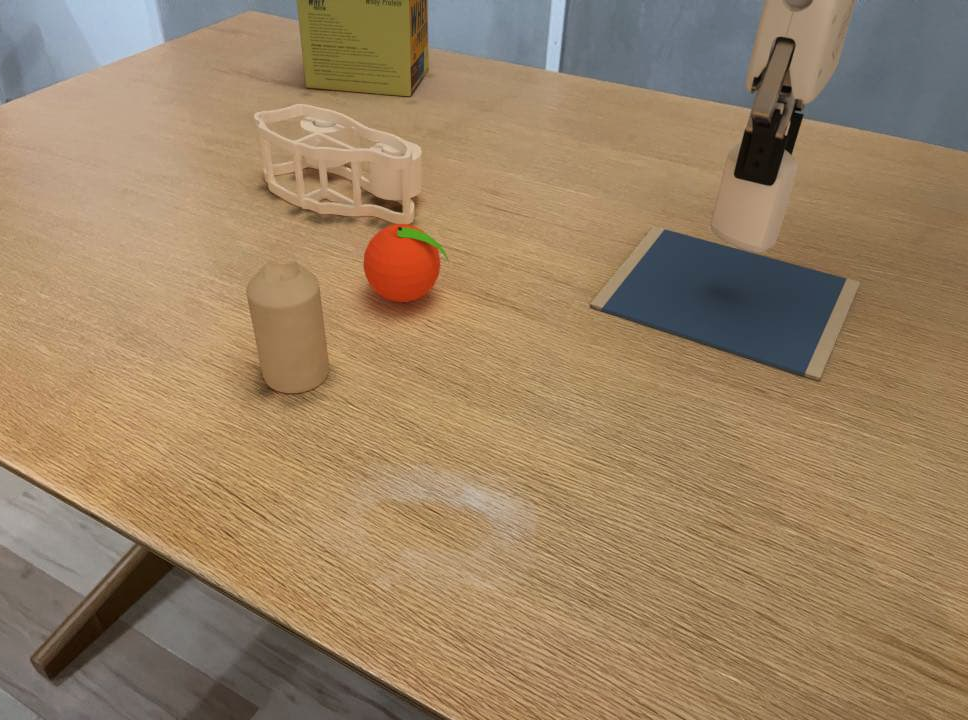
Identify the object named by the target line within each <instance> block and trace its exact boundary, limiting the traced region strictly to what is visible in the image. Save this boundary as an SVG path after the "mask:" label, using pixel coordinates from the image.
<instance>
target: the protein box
mask: <svg viewBox="0 0 968 720" xmlns="http://www.w3.org/2000/svg"><path fill="white" fill-rule="evenodd" d="M428 2H429V1H428V0H296V8H297V17H298V24H299V35H300V45H301V55H302V64H303V74H304V85H305V88H308V89H319V90H330V91H331V90H332V91H341V92H343V91H344V92H353V93H354V92H355V93H364V94H365V93H367V94H375V95H378V94H379V95H388V96H399V97H400V96H402V97H412V96H413V94H414V92H415V90H416V89H417V88H418V86H420V83H421V82H422V80H423V79H424V77H425V76H426V74H427V72H428V71H429V70H430V58H429V57H430V56H429V11H428V10H429V7H428V6H429V5H428V4H429V3H428Z"/></svg>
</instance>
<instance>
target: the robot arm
mask: <svg viewBox="0 0 968 720" xmlns="http://www.w3.org/2000/svg"><path fill="white" fill-rule="evenodd" d="M856 2H857V0H764V4H763V7H762V11H761V15H760V19H759V23H758V26H757V31H756V34H755V37H754V38H755V39H754V44H753V47H752V51H751V55H750V59H749V64H748V69H747V72H746V73H747V74H746V79H745V87H746V89H747V91H748V92H749V93H750V94H752V95H753V94H755V95H754V98H753V102H752V105H751V110H750V113H749V116H748V120H747V123H746V127H745V128H744V131H743V136H742V139H741V142H740V143H741V146H740V150H739V154H738V158H737V162H736V166H735V170H734V176H735V178H737V179H741V180H745V181H750V182H754V183H758V184H762V185H767V186H772V185H773V184H774V183H775V181H776V179H777V175H778V172H779V168H780V165H781V162H782V158H783V155H784V151H785V150H786V151H788V152H789V153H790V154H791V155H792V156H793V153H794V149H795V145H796V143H797V138H798V136H799V132H800V128H801V126H802V123H803V118H804V116H805V114H804V113H802V112H803V111H804V109H805V106H806V105H807V104H810V103H812V102H813V101H814V100H816V99H817V97H818V96H819V95H820V93H821V92H822V91H823V89H824V88H825V86H826V85H827V84H828V82H829V81H830V79H831V78H832V76H833V75H834V73H835V71H836V69H837V67H838V66H839V62H840V59H841V56H842V51H843V48H844V45H845V41H846V38H847V33H848V31H849V26H850V24H851V23H850V22H851V20H852V16H853V12H854V9H855V5H856ZM777 103H782V104H784V108H783V112H782V114H781V110H780V109H776V107H777ZM789 121H790V126H789V129H788V133H787V135H785V133H786V130H787V127H788V124H789Z"/></svg>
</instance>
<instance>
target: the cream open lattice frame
mask: <svg viewBox="0 0 968 720" xmlns="http://www.w3.org/2000/svg"><path fill="white" fill-rule="evenodd" d="M300 116H305V117H303V118H302V119H301V120H300V122H299V126H300V136H301V137H300V138H298V139H295V140H292V139H290V138H287V137H285V136H282V135H281V134H278V133H277V132H275V131H272V130H271V129H269V128H268V126H267V124H270V123H277V122H283V121H287V120H291V119H294V118H296V117H300ZM253 118H254V125H255V129H256V133H257V138H258V144H259V145H258V146H259V149H260V150H259V151H260V158H261V162H262V170H263V177H264V182H265V183H267V186H268V190H269V192H271V193H273V194H274V195H275V196H277V197H279V198H281V199H282V200H284V201H286V202H287V203H290V204H292V205H294V206H296V207H299V208H301V209H302V210H310V211H312V212H314V213H317V214H319V215H335V216H336V215H337V216H343V217H354V218H355V217H356V218H357V217H375V218H379V219H381V220H383V221H386V222H388V223H391V224H393V225H395V224H408V225H411V224H412V223H413V222H414V219H415V214H416V213H415V203H414V200H412V199H411V198H414V197H416V196H417V195H419V194H421V192H422V190H423V155H422V154H423V151H422V148H421V147H420V145H418V144H416V143H415V142H411V141H408V140H405V139H403V138H402V137H400V136H397V135H395V134H393V133H390V132H387V131H384V130H380V129H379V130H378V129H375V128H371V127H368V126H366V125H365V124H363V123H361V122H359V121H357V119H354V118H352V117H350V116H348V115H346V114H344V113H341V112H339V111H336V110H333V109H328V108H324V107H318V106H315V105H310V104H307V103H296V104H295V103H294V104H292V105H290V106H287V107H282V108H277V109H273V110H263V111H257V112H255V113H254V116H253ZM361 138H362V139H366V140H368V141H369V142H373V143H375V144H373V145H371V147H370V148H368V147H367V148H365V147H364V148H363V147H361ZM271 144H272V145H274V146H276V147H277V148H280V149H282V150H284V151H286V152H289V153H291V155H292V160H290V161H286V162H281V163H273V158H272V149H271ZM363 162H368V163H367V164H368V177H369V179H368V178H367V177H365V176H364V175H363V174H364V173H363ZM348 163H350V167H348V166H345V165H346V164H348ZM307 168H310V169H314V170H318V175H319V183H320V187H318V188H317V189H313V190H312V191H309V192H308V193H306V188H305V180H304V173H303V172H304V171H303V170H304V169H307ZM291 173H294V177H295V185H296V192H293V191H291V190H289V189H288V188H286V187H284V186H282V185H280V184H278V183H277V181H276V177H275V176H281V175H282V176H283V175H287V174H291ZM328 173H331V174H335V175H338V176H340V177H343V178H344V179H347V180H349V181H351V182H352V183H351V184H352V194H353V199H352V198H349V197H347V196H345V195H343V194H341V193H340V192H338V191H335V190H333V189H331V188H329V182H328V180H329V179H328ZM361 188H362V189H363V190H364V191H366V192H368V193H370V194H372V195H373V196H375V197H377V198H378V199H383V200H387V201H394V202H397V204H400V205H401V206H402V212H399V211H394V210H391V209H389V208H386V207H384V206H381V205H377V204H374V203H373V204H372V203H364V204H363V202H362V189H361ZM323 200H328V201H329V202H328V201H327V202H322V201H323Z"/></svg>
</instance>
